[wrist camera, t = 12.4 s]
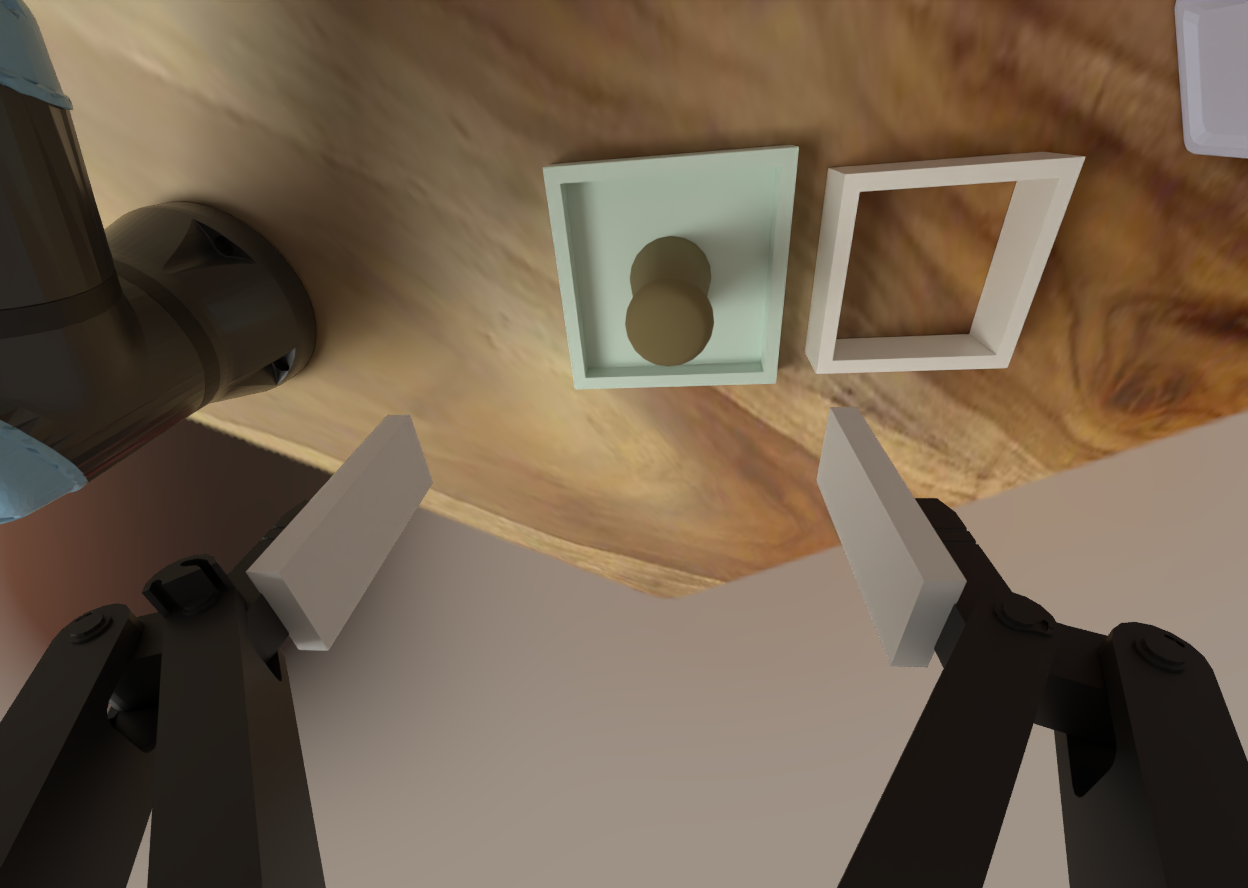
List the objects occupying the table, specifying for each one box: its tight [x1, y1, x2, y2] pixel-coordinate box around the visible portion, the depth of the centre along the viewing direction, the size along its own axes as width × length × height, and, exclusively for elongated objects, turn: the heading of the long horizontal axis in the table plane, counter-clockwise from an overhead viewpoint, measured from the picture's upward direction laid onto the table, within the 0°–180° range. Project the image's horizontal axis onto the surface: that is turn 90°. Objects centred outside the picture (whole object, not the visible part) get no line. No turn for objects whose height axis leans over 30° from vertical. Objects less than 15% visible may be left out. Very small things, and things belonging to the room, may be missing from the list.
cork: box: [625, 236, 714, 367], centre depth 33 cm, size 6×6×11 cm
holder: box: [805, 152, 1085, 374], centre depth 34 cm, size 13×13×4 cm
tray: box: [543, 145, 799, 389], centre depth 37 cm, size 16×16×2 cm
